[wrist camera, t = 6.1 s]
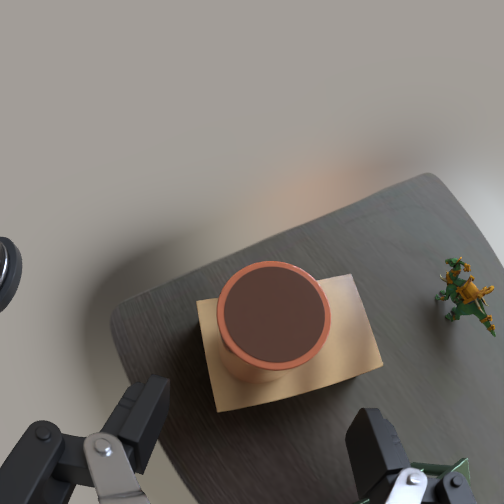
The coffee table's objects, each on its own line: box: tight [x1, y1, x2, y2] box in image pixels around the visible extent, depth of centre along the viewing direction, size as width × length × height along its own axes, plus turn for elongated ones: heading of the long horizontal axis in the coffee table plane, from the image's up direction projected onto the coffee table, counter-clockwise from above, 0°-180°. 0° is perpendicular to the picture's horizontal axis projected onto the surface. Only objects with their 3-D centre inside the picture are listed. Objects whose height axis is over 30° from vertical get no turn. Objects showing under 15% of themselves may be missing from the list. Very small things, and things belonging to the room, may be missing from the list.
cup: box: [216, 261, 331, 384], centre depth 18 cm, size 6×6×8 cm
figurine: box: [435, 257, 496, 337], centre depth 26 cm, size 3×12×8 cm, turn 28°
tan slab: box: [196, 274, 383, 412], centre depth 24 cm, size 14×9×5 cm, turn 103°
